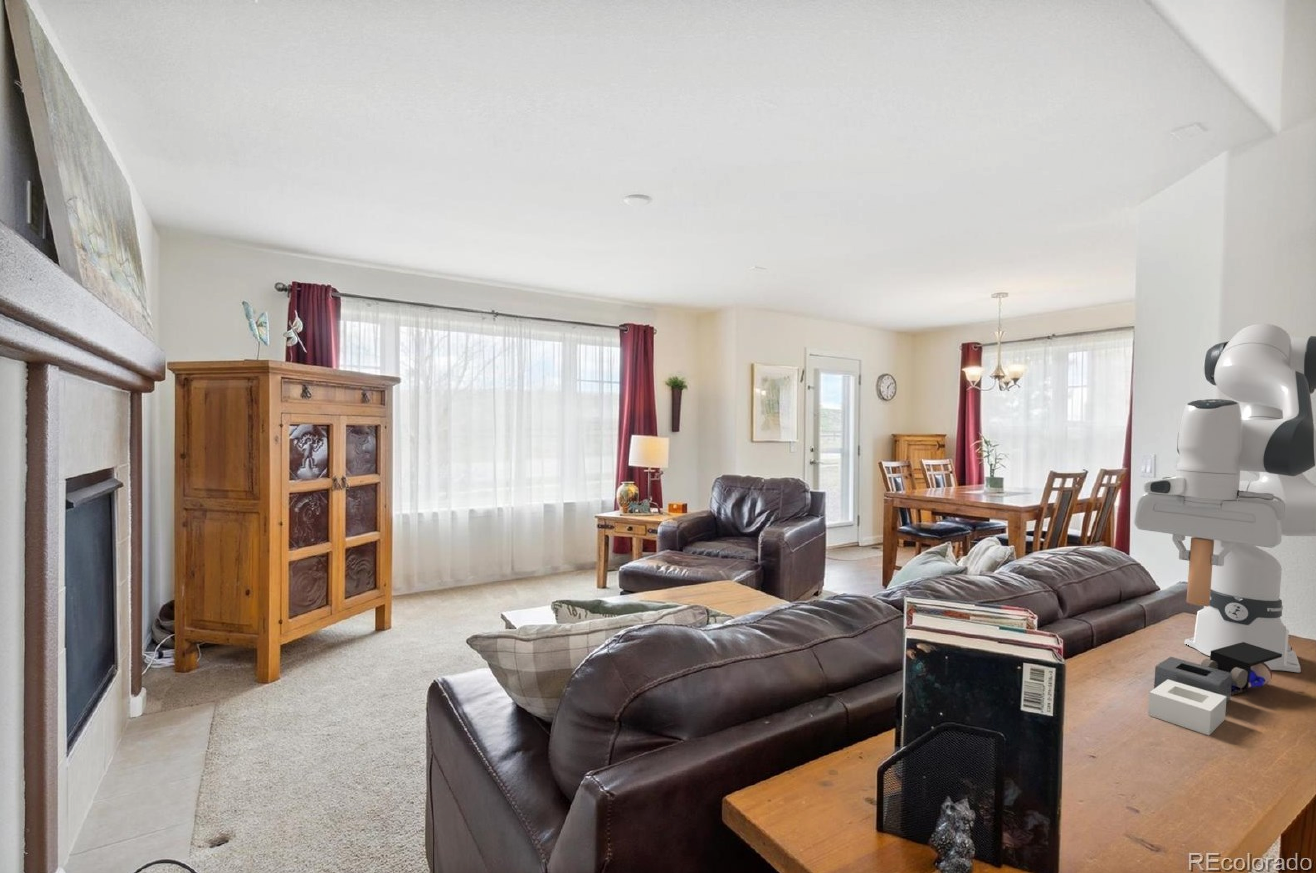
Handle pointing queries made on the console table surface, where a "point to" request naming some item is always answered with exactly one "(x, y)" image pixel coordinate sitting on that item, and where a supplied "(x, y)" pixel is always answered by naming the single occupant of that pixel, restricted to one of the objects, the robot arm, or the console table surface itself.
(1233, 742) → the console table surface
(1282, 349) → the robot arm
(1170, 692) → the socket block
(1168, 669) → the block
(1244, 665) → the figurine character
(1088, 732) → the console table surface
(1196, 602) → the pin
